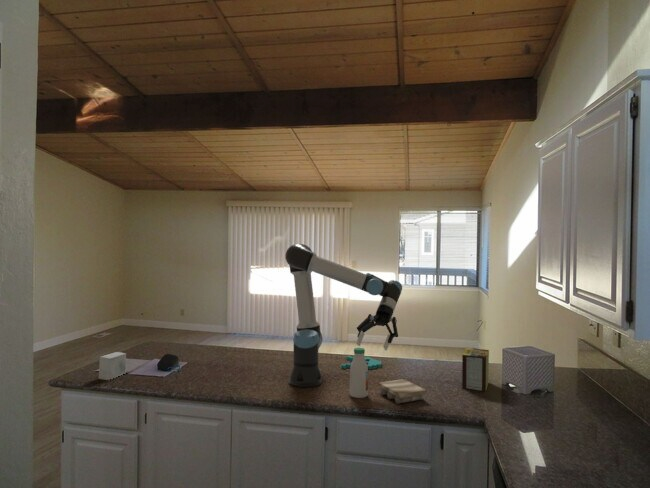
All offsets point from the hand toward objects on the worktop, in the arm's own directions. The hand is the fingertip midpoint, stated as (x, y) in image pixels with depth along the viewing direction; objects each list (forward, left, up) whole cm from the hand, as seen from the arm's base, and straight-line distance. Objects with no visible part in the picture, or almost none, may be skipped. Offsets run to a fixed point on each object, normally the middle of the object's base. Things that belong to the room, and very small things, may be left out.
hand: (371, 346), depth 191 cm
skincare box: (-64, -104, -19) cm, 124 cm away
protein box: (+15, +48, -19) cm, 54 cm away
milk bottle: (+5, -9, -19) cm, 22 cm away
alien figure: (-35, +17, -20) cm, 44 cm away
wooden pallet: (+14, +7, -19) cm, 25 cm away
